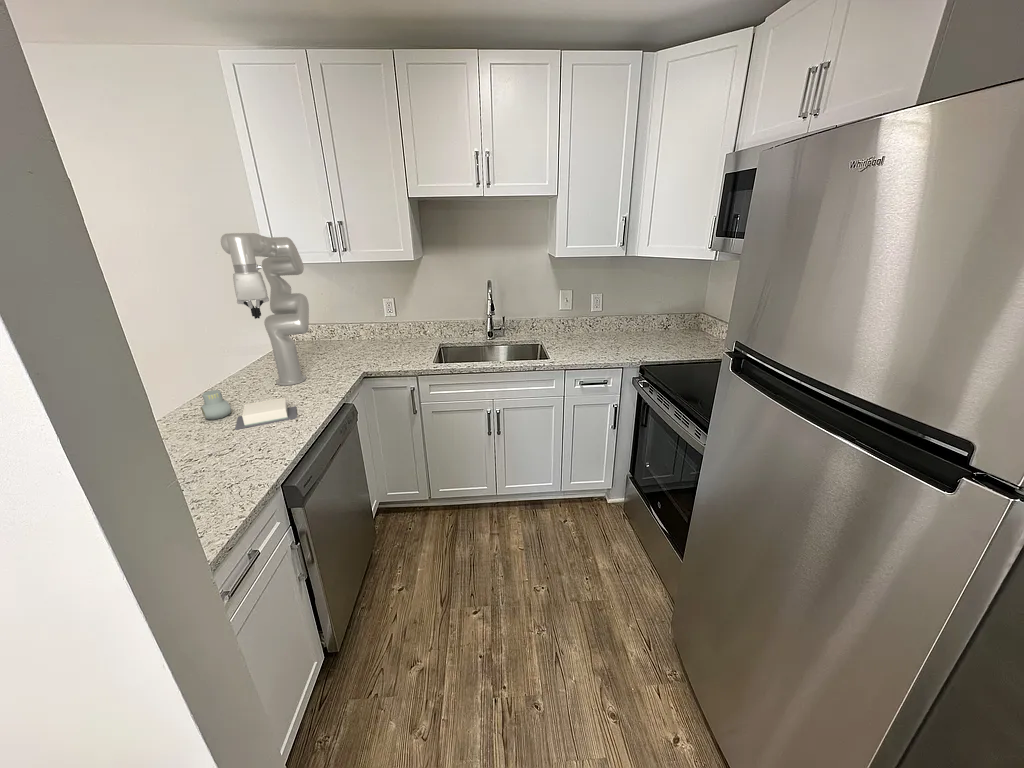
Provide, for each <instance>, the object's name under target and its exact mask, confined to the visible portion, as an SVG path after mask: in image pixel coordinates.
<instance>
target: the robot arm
mask: <svg viewBox="0 0 1024 768" xmlns="http://www.w3.org/2000/svg"><path fill="white" fill-rule="evenodd" d="M220 245H221V248H222V250H223V251H224V252H225V253H226V254H228V255H230V258H231V262H232V266H233V272H234V273H232V274H233V275H232V280H233V287H234V292H235V296H236V299H237V300H236V303H237V304H238V305H244V306H246V307H248V308H249V309H250V313H251V316H252V317H254V319H255V320H256V319H261V318H260V317H261V316H262V313H261V307H262V305H263V304H264V303H269V309H270V311H271V313H272V314H270V315H268V316H266V317H265V318H264V322H263V323H264V328H265V330H266V333H267V335H268V337H269V340H270V344H271V348H272V352H273V357H274V362H275V366H276V370H277V374H278V378H277V379H276V381H275V382H276V384H277V386H278V385H279V386H293V385H298V384H300V383H303V382H305V381H306V379H307V377H306V375H304V374H302V370H301V364H300V360H299V356H298V355H299V354H298V349H297V346H296V342H295V341H294V340H293V338H292V337H291V336H292V335H293V336H294V335H297V336H298V335H304V334H306V333H308V331H309V323H310V321H309V319H310V318H309V317H310V306H309V300H308V297H307V296H306V295H305V294H304V293H300V292H299V293H297V292H295V293H294V292H293V293H292V286H291V285H290V283H288V281H287V280H285V279H284V278H283V277H281V276H300V275H302V274H303V272H304V268H305V267H304V263H303V260H302V258H301V255H300V253H299V250H298V248H297V246H296V244H295V243H294V241H293V240H292V239H291V238H289V237H288V236H282V237H280V236H279V237H275V236H274V237H271V236H269V237H268V236H266V235H261V234H259V233H255V232H240V233H239V232H233V233H224V234H223V235H222V236H221V238H220ZM256 257H260V258H261V257H262V258H263V259H262V262H261V265H259V264H257V260H256ZM259 270H262V271H263V274H264V276H265V278H266V280H267V282H268V285H269V287H270V293H269V294H270V295H269V296H268V291H267V286H266V283H265V280H264V277H263V274H262V272H260V271H259ZM252 301H255V305H254V304H253V303H252Z"/></svg>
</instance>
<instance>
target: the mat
mask: <svg viewBox="0 0 1024 768" xmlns="http://www.w3.org/2000/svg"><path fill="white" fill-rule="evenodd" d="M296 412H297V406H296V405H294V406H289V407H288V418H285V419H279V420H274V421H269V422H263V423H258V424H253V425H247V426H245V425H244V421H243V417H242V415H240V416H239V415H238V416H237V418H236V424H235V427H234V429H235V431H240V430H243V429H248V428H254V427H258V426H263V425H269V424H274V422H275V423H279V421H281V422H285V421H284V420H286V421H290V420H289V419H291V420H295V418H297V419H298V414H297V413H298V412H297V413H296Z"/></svg>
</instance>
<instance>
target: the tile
mask: <svg viewBox="0 0 1024 768" xmlns="http://www.w3.org/2000/svg"><path fill="white" fill-rule="evenodd" d="M288 408H289V407H288V402H287V398H286V397H280V398H274V399H267V400H263V401H262V400H260V401H256V402H250V403H245V404H244V407H243V410H242V415H241V416H242V417H243V421H244V425H245V426H247V425H253V424H258V423H263V422H269V421H274V420H279V419H285V418H288Z"/></svg>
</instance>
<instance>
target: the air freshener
mask: <svg viewBox="0 0 1024 768" xmlns="http://www.w3.org/2000/svg"><path fill="white" fill-rule="evenodd" d="M201 396H202V399H203V405H201V407H200V410H201V412H202V414H203V417H204V418H205V419H206V420H209V421H210V420H213V421H214V420H218V419H222V418H225V417H227V416H229V415H230V414H231V413H232V407H231V404H230V403H229V401H228V400H226V399H223V398H224V397H223V394H222V391H221V390H218V389H214V390H213V389H212V390H208V391H205V392H203V393H202V395H201Z"/></svg>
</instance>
